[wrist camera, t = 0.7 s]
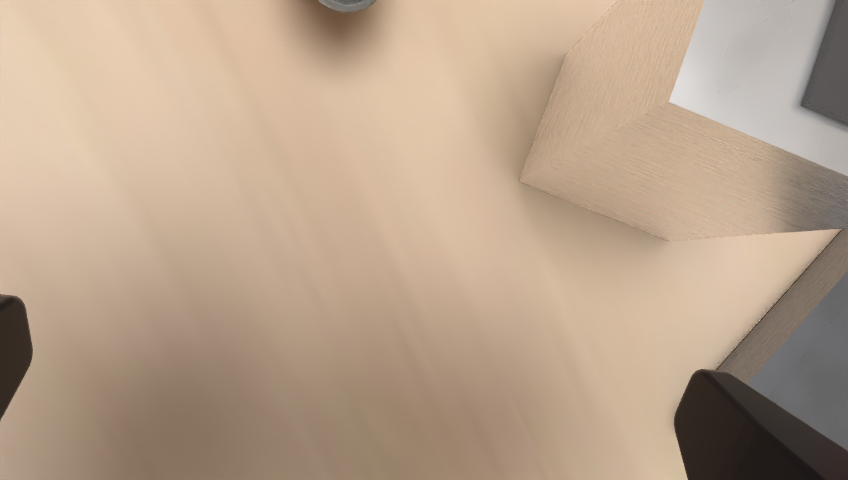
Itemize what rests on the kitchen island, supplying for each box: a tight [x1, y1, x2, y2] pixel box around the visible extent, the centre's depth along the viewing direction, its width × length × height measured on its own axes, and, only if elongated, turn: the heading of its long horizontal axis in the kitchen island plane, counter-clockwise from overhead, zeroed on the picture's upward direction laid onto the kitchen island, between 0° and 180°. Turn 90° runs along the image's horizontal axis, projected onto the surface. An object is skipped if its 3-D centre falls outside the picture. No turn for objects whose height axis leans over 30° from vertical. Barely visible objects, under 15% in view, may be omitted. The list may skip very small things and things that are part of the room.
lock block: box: [519, 0, 848, 241], centre depth 17 cm, size 5×6×11 cm
